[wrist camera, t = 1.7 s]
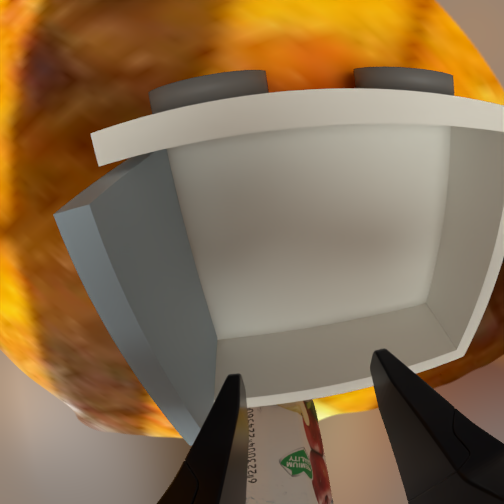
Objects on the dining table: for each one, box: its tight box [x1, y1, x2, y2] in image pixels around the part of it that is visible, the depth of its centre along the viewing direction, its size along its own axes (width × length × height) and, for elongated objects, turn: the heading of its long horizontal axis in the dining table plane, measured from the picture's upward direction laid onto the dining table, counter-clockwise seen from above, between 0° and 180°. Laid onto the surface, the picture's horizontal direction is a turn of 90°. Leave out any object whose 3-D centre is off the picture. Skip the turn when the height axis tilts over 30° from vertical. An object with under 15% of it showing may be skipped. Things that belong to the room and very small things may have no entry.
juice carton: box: [246, 399, 333, 504], centre depth 18 cm, size 9×10×27 cm
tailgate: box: [53, 149, 217, 446], centre depth 13 cm, size 2×13×8 cm, turn 8°
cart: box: [91, 67, 504, 408], centre depth 16 cm, size 18×18×10 cm
